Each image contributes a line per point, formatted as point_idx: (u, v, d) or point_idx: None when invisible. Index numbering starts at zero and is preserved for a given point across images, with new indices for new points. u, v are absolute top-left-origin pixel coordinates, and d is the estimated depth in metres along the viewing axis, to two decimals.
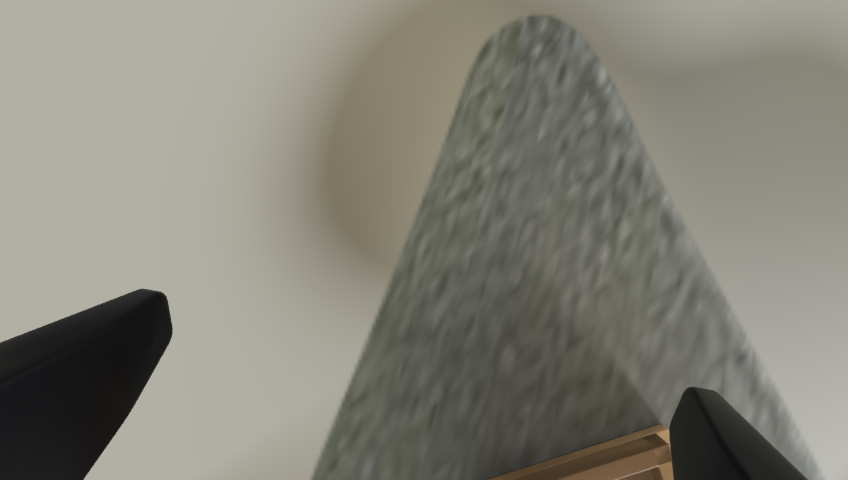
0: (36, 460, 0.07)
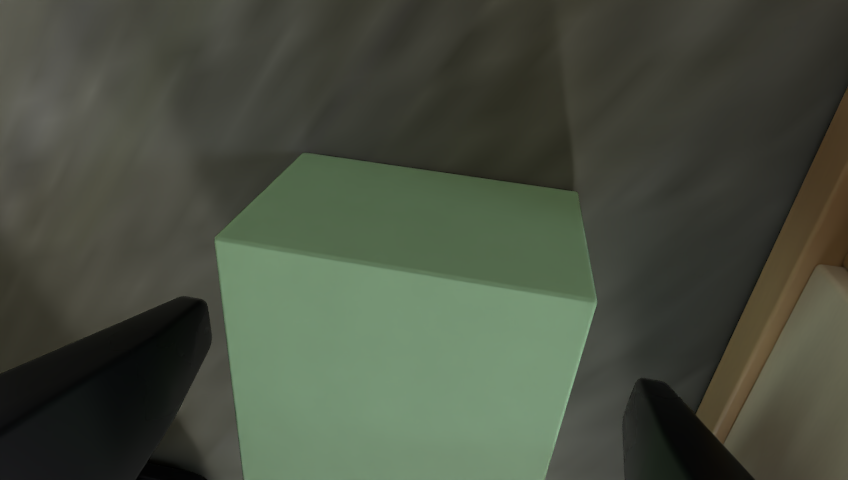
0: (87, 471, 0.07)
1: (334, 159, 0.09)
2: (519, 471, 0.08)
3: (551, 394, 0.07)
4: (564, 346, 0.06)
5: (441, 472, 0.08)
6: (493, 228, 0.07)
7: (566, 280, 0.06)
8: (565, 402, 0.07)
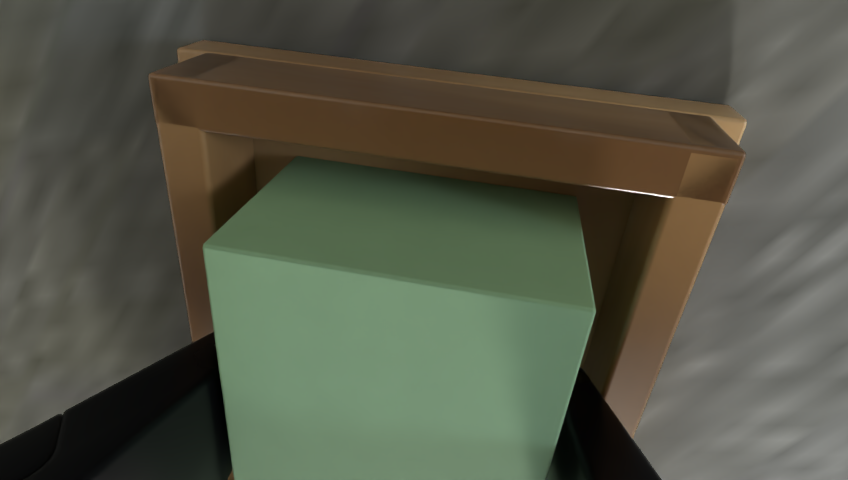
0: None
1: (328, 162, 0.09)
2: None
3: (549, 405, 0.07)
4: (562, 357, 0.06)
5: None
6: (489, 234, 0.07)
7: (564, 289, 0.06)
8: (563, 413, 0.07)
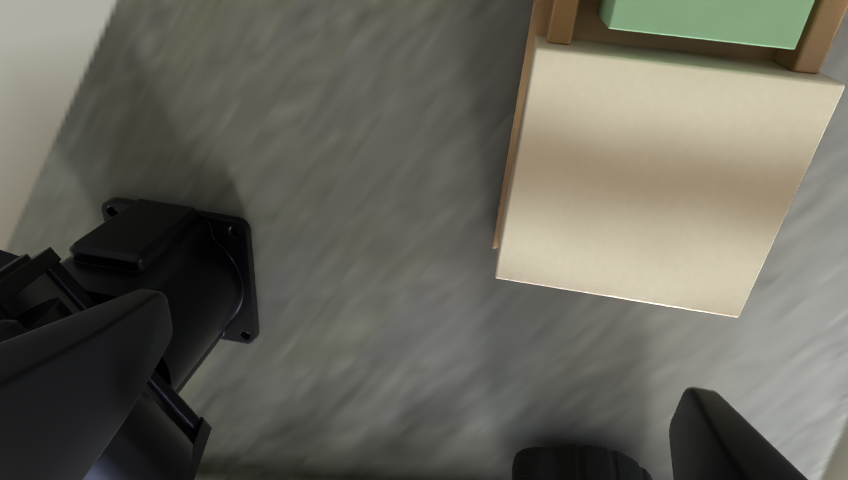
0: (36, 460, 0.07)
1: None
2: None
3: None
4: None
5: None
6: None
7: None
8: None
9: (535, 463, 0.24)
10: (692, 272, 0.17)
